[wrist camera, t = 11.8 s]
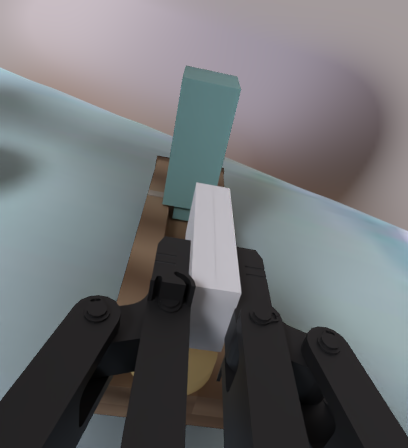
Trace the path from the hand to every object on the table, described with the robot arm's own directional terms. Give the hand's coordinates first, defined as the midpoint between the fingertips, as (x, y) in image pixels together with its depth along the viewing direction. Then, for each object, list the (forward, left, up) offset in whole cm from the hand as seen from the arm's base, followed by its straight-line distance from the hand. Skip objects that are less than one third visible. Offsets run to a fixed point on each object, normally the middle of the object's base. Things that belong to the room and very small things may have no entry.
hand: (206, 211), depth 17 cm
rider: (+7, +12, -9) cm, 16 cm away
